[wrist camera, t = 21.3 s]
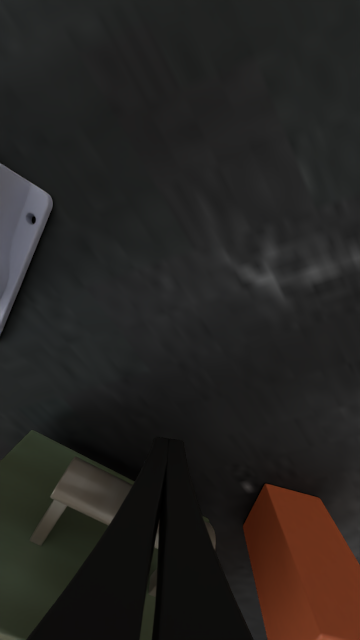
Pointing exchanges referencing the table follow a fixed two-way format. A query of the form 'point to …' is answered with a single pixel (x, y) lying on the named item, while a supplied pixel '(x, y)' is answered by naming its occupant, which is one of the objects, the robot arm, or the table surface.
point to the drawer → (55, 529)
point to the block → (302, 568)
